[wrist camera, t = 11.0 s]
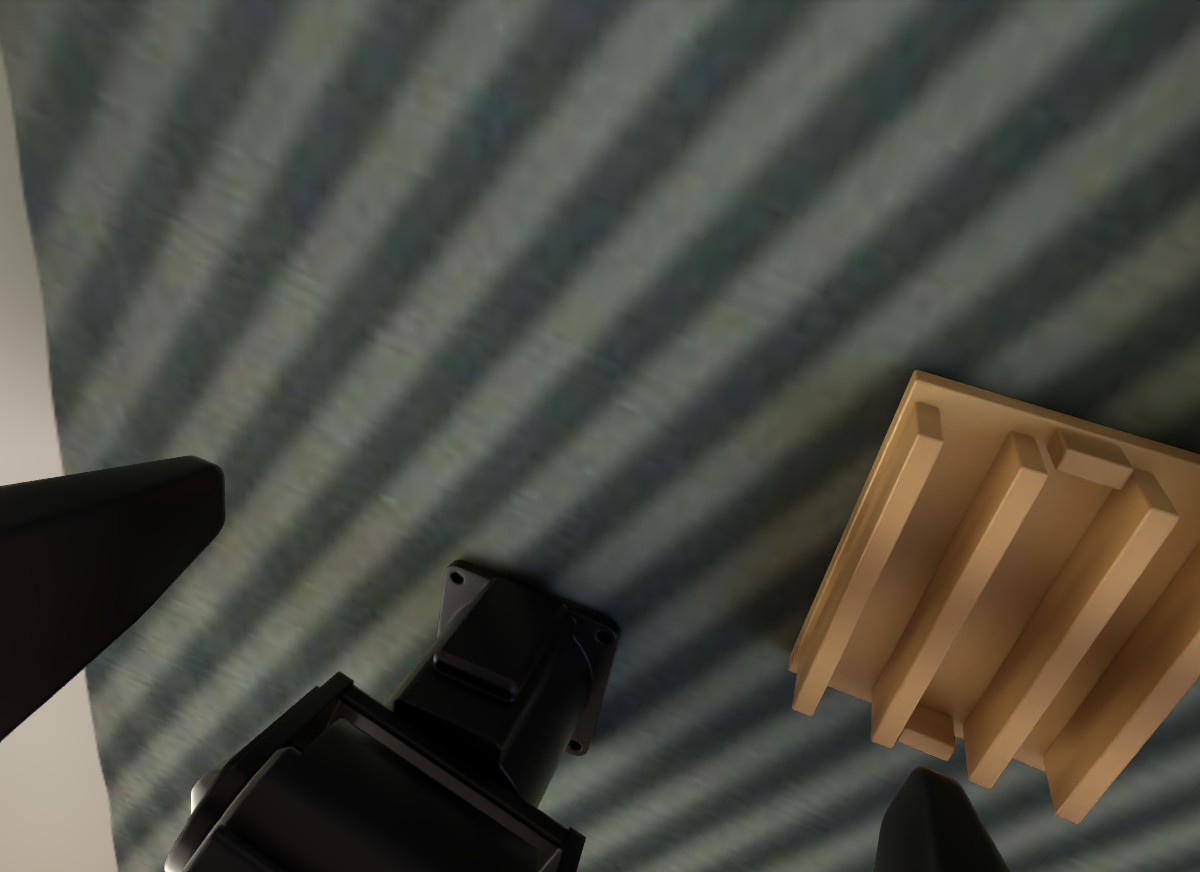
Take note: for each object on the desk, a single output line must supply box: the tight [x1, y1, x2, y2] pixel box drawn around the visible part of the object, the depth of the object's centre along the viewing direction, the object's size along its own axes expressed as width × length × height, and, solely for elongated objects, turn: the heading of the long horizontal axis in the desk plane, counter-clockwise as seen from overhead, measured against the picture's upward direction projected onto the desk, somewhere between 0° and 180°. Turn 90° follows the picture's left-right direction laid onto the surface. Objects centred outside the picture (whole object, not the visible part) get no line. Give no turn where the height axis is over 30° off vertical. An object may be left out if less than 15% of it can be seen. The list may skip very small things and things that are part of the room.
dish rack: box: [788, 370, 1200, 824], centre depth 19 cm, size 10×8×3 cm
